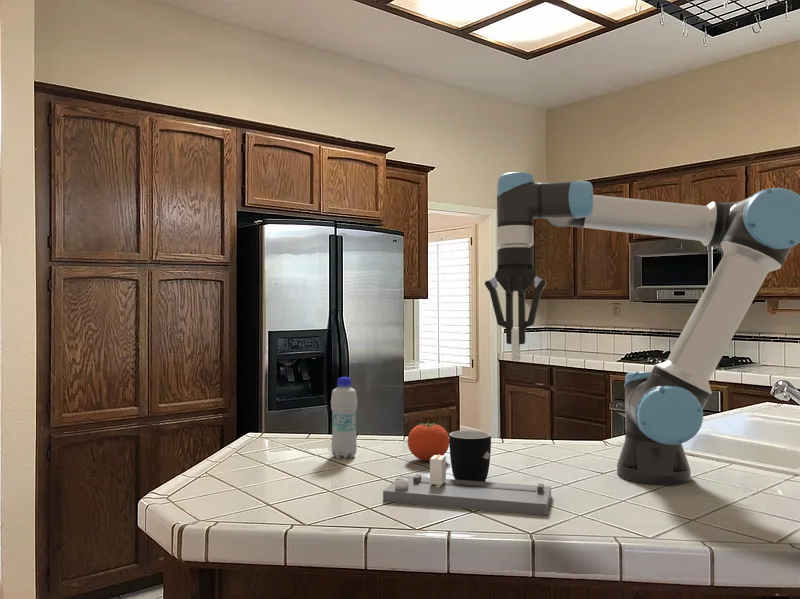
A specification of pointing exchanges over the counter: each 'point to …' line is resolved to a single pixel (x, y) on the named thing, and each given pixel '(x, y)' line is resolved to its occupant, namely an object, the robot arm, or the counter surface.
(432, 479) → the fader tab
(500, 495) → the console
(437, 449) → the tomato
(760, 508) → the counter surface
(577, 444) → the counter surface
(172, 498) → the counter surface
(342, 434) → the bottle
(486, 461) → the mug
